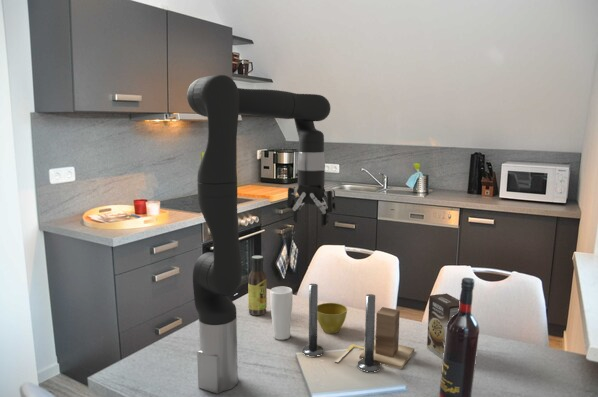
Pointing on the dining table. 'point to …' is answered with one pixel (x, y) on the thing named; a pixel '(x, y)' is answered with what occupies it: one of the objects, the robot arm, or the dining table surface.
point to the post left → (313, 323)
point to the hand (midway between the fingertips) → (310, 224)
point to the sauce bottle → (257, 287)
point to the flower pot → (331, 316)
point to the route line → (355, 347)
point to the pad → (397, 360)
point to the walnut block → (387, 332)
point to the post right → (369, 337)
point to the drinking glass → (281, 311)
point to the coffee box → (440, 320)
